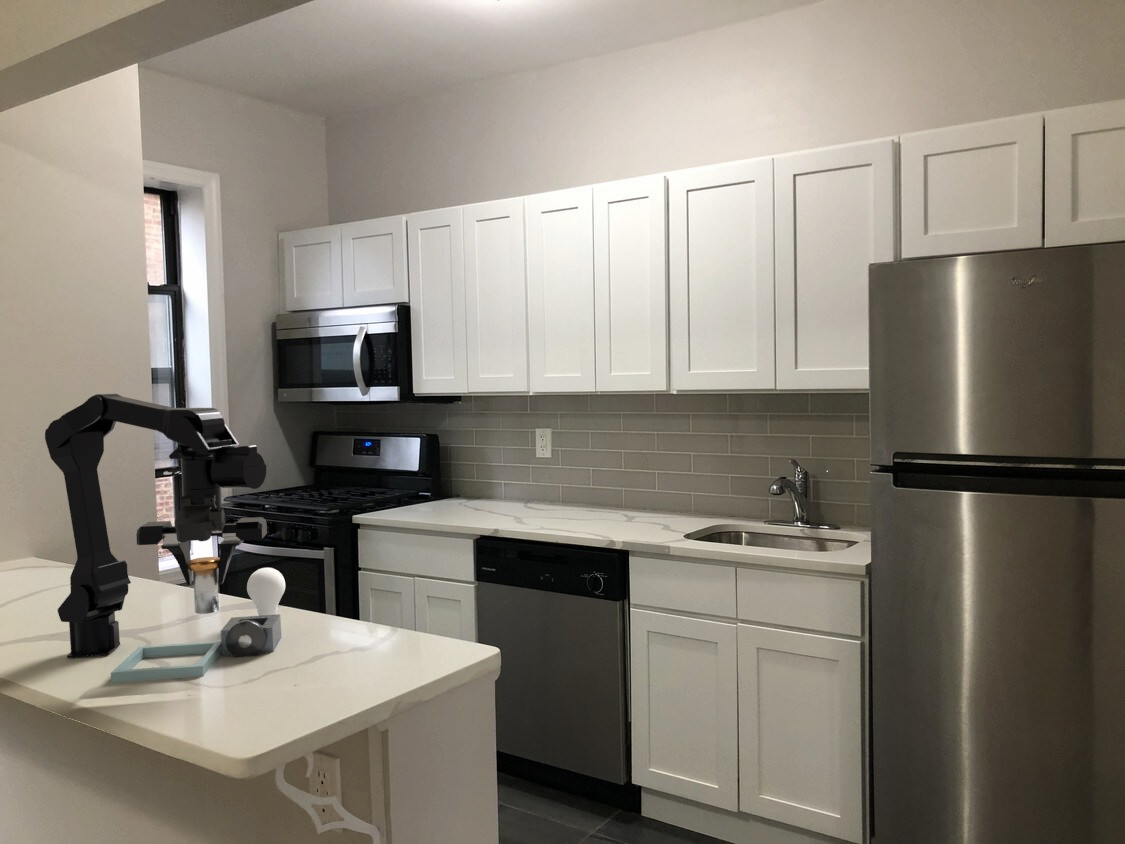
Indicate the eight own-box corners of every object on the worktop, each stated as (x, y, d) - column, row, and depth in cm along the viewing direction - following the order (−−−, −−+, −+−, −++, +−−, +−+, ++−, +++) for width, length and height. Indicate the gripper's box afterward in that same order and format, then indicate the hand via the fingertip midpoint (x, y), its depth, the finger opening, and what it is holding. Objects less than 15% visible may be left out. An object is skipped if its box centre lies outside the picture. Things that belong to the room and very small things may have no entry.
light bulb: (275, 633, 161) (272, 572, 160) (241, 632, 162) (238, 571, 162) (294, 623, 167) (291, 564, 167) (261, 622, 169) (258, 563, 168)
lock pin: (187, 615, 143) (185, 564, 142) (194, 607, 147) (192, 557, 147) (219, 613, 143) (217, 562, 143) (225, 605, 148) (223, 556, 148)
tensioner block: (219, 665, 144) (217, 625, 144) (232, 646, 154) (231, 608, 153) (271, 661, 145) (269, 621, 145) (281, 643, 155) (279, 605, 155)
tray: (111, 689, 134) (110, 672, 134) (139, 661, 147) (138, 646, 147) (203, 682, 136) (202, 666, 136) (223, 655, 149) (222, 640, 149)
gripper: (123, 496, 135) (128, 600, 136) (254, 491, 138) (258, 593, 139) (144, 487, 146) (148, 583, 146) (265, 482, 149) (269, 576, 150)
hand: (205, 584), depth 145 cm, fingers closed on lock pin, 4 cm apart
